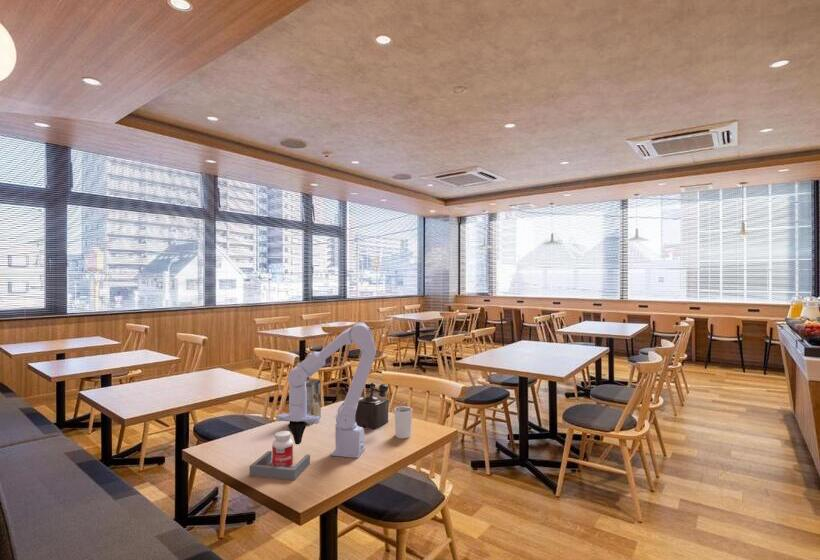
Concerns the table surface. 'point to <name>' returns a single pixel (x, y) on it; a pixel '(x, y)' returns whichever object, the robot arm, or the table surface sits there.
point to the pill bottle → (282, 450)
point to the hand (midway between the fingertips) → (298, 443)
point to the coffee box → (313, 397)
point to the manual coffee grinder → (373, 409)
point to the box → (277, 468)
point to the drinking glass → (403, 422)
